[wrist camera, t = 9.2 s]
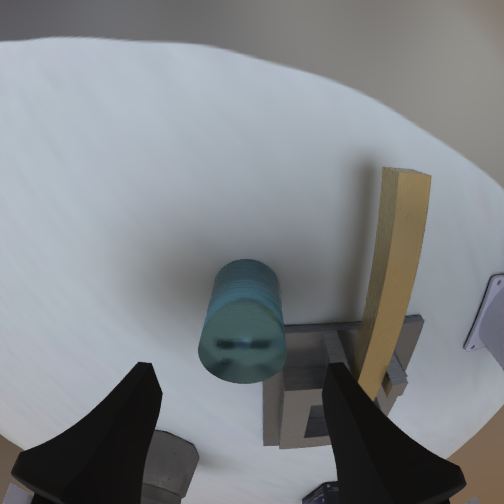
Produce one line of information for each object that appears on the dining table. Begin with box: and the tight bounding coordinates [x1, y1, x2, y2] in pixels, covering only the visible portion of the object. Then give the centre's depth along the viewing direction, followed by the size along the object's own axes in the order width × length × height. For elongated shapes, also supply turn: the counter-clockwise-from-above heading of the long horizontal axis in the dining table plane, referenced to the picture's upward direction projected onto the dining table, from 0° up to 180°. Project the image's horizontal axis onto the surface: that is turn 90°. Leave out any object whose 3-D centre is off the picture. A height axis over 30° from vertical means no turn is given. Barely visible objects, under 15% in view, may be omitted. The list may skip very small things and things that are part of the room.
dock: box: [263, 315, 424, 449], centre depth 19 cm, size 12×16×6 cm
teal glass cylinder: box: [198, 259, 287, 384], centre depth 15 cm, size 4×4×6 cm
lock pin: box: [350, 167, 431, 410], centre depth 13 cm, size 3×16×2 cm, turn 2°
